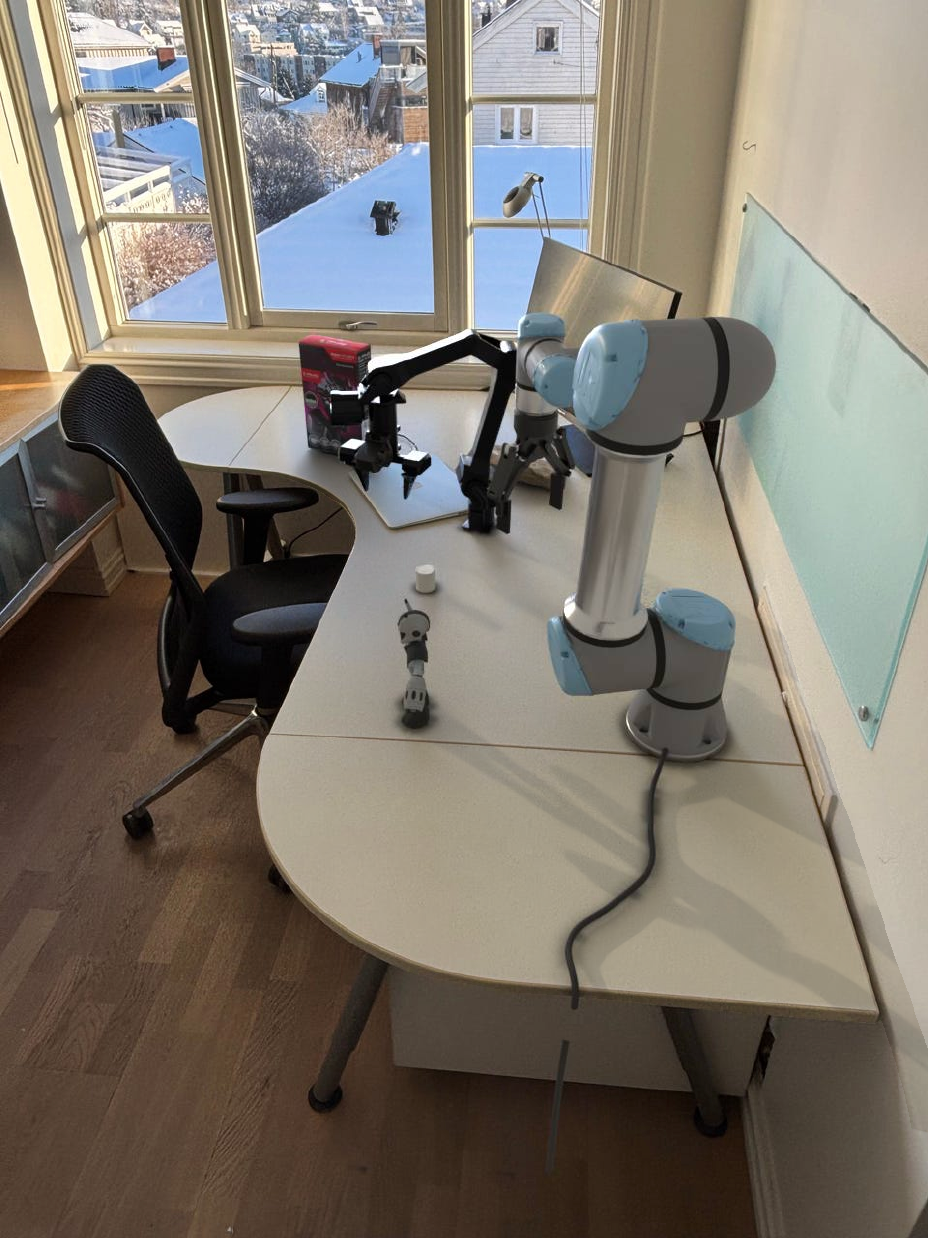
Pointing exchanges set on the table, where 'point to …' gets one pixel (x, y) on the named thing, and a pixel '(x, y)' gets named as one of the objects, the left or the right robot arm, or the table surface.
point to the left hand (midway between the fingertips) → (386, 494)
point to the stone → (528, 469)
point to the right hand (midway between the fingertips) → (529, 518)
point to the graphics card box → (331, 387)
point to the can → (425, 578)
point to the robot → (415, 666)
